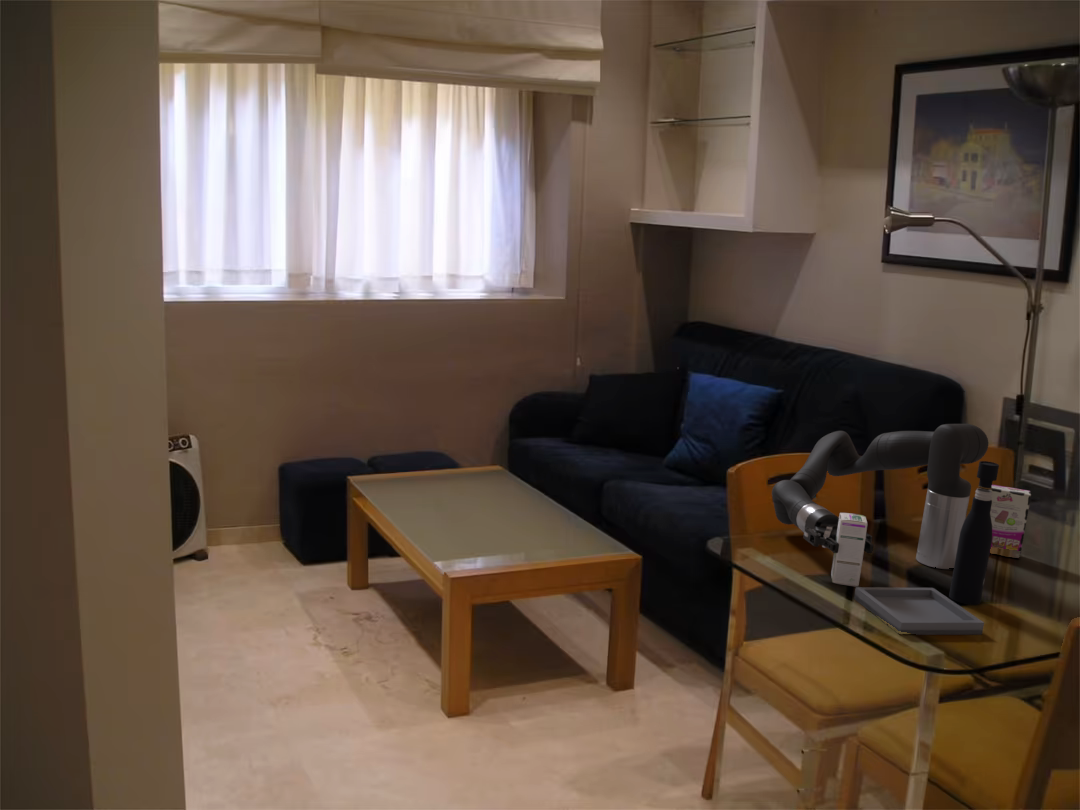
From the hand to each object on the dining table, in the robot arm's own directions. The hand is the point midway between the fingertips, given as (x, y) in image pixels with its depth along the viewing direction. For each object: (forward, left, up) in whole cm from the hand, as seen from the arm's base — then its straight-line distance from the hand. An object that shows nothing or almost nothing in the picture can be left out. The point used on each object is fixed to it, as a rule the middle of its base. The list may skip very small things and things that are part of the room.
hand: (853, 548), depth 234 cm
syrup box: (0, -2, -8) cm, 8 cm away
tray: (-6, +17, -8) cm, 20 cm away
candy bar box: (-51, -22, -8) cm, 56 cm away
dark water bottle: (-23, +8, -8) cm, 26 cm away
